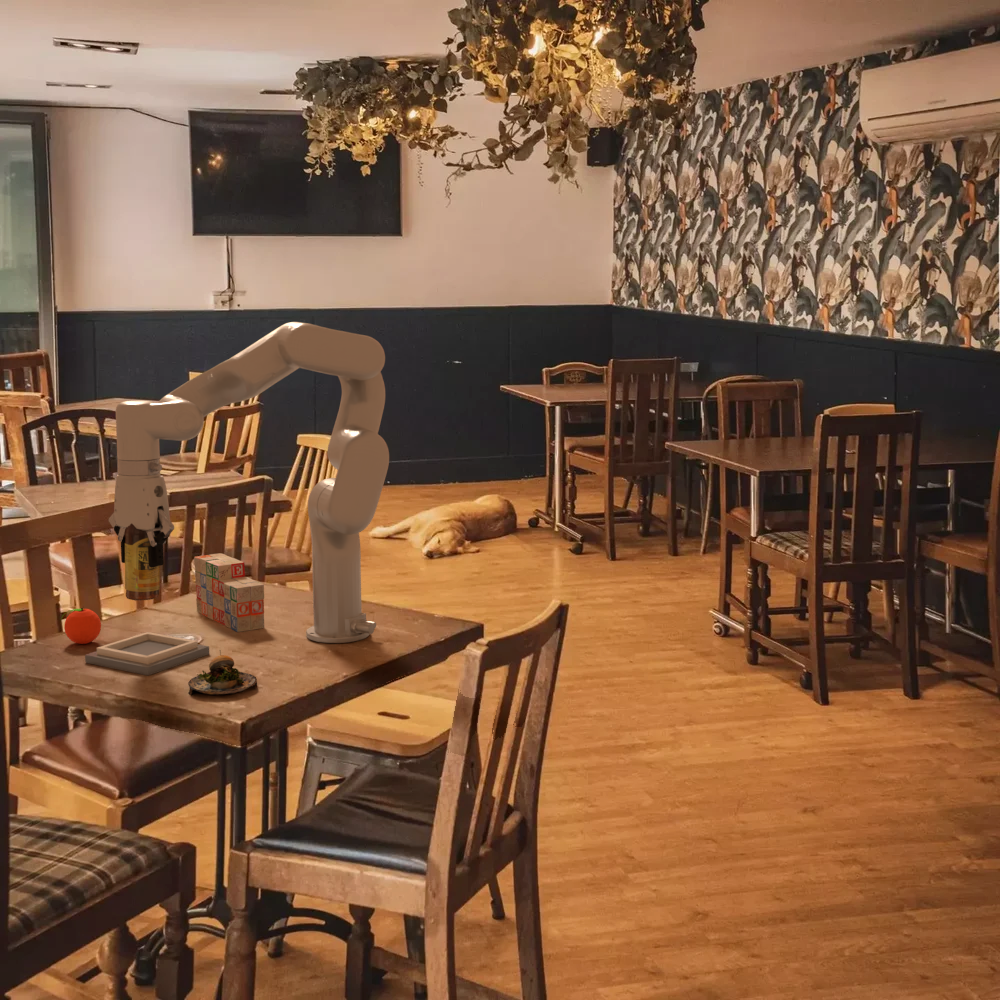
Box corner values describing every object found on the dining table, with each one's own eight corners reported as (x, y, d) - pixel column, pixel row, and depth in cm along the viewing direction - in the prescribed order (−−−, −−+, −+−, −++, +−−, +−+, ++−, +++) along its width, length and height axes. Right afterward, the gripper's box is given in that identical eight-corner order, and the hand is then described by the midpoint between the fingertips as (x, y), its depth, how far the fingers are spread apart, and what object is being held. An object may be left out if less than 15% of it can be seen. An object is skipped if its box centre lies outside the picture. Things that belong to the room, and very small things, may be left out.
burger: (179, 700, 232) (178, 658, 231) (197, 680, 244) (196, 639, 242) (249, 701, 231) (248, 659, 230) (264, 680, 243) (263, 640, 242)
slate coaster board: (209, 654, 259) (208, 640, 258) (147, 675, 245) (147, 661, 245) (148, 642, 267) (147, 629, 266) (85, 662, 253) (84, 648, 253)
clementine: (53, 647, 264) (51, 611, 262) (69, 637, 270) (67, 603, 269) (93, 648, 263) (91, 613, 261) (107, 639, 269) (106, 604, 268)
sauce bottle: (142, 603, 249) (138, 496, 246) (118, 599, 253) (114, 493, 249) (168, 596, 255) (165, 492, 252) (144, 592, 258) (141, 488, 255)
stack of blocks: (265, 628, 278) (263, 569, 275) (237, 633, 274) (235, 573, 272) (223, 607, 295) (221, 552, 293) (196, 611, 291) (193, 555, 289)
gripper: (188, 469, 249) (191, 565, 252) (120, 462, 257) (124, 555, 260) (158, 474, 242) (162, 573, 245) (90, 466, 251) (94, 562, 254)
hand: (142, 562), depth 253 cm, fingers closed on sauce bottle, 6 cm apart
